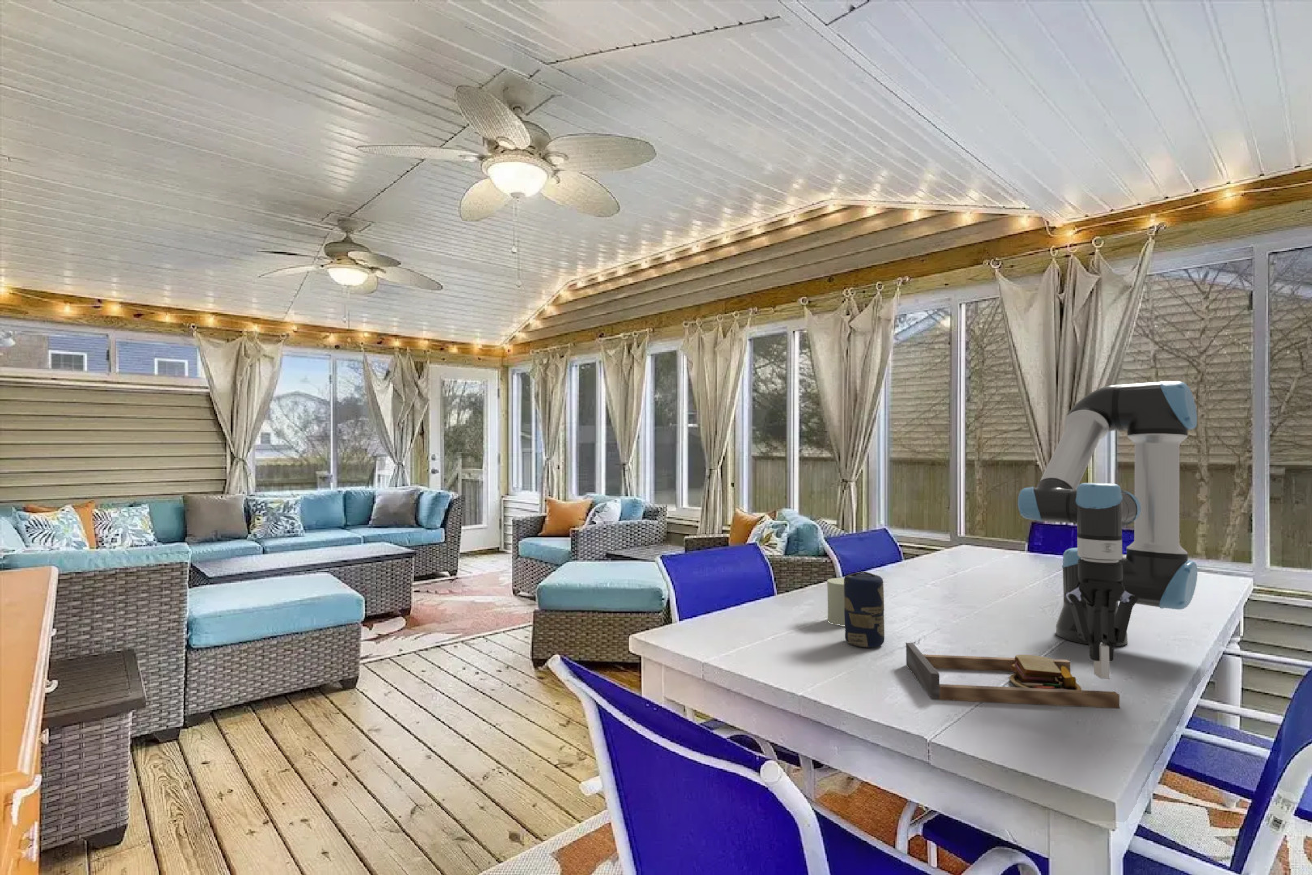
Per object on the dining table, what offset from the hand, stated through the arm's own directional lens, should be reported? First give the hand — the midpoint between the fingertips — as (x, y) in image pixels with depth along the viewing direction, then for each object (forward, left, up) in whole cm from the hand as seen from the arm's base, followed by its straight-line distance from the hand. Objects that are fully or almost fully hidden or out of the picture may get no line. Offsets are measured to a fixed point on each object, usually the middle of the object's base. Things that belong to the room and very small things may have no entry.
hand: (1101, 676), depth 129 cm
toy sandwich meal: (+11, 0, -3) cm, 12 cm away
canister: (+42, -25, -3) cm, 49 cm away
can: (+44, -45, -3) cm, 63 cm away
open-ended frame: (+18, 0, -3) cm, 18 cm away
